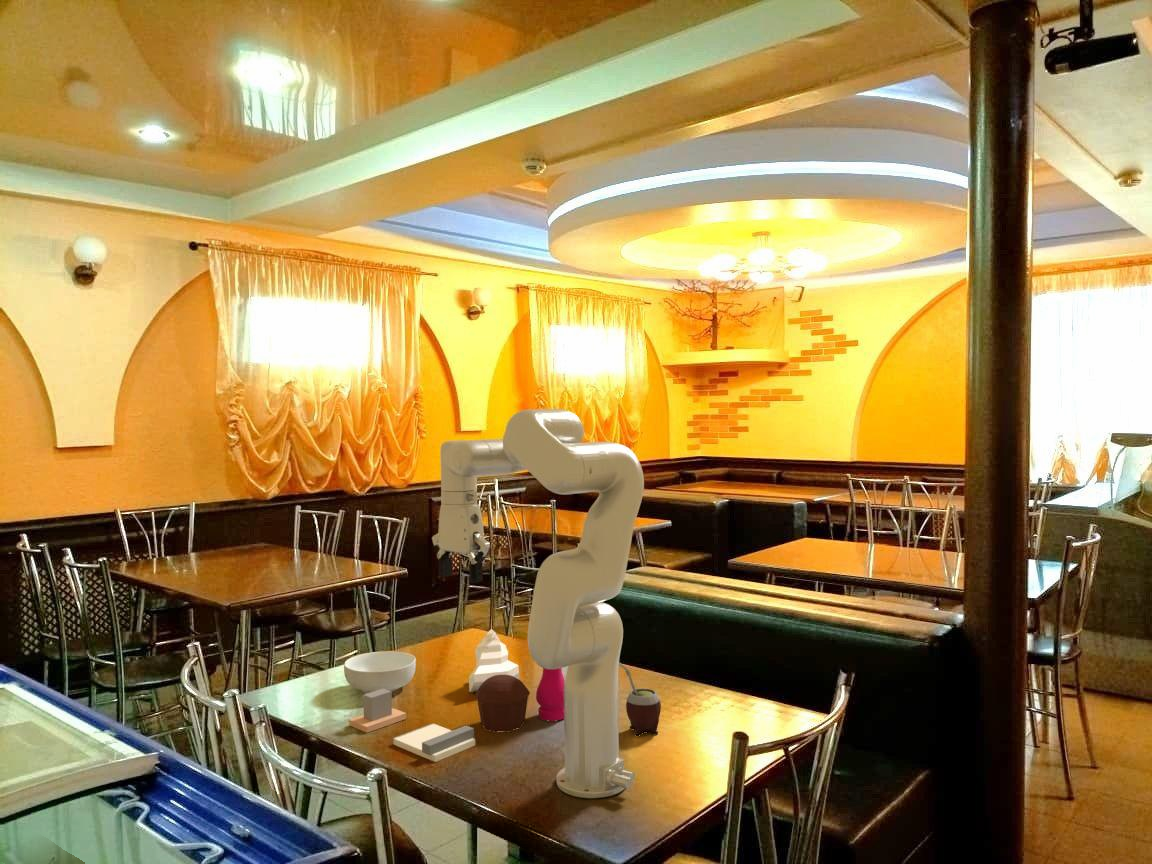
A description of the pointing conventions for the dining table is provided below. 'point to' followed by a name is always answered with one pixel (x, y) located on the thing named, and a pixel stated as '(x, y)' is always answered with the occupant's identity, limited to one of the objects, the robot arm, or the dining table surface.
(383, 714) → the pink base grey block
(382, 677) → the cereal bowl
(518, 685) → the muffin
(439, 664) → the dining table surface
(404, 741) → the base
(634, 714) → the mate gourd
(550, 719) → the pepper mill
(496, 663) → the soft serve ice cream
